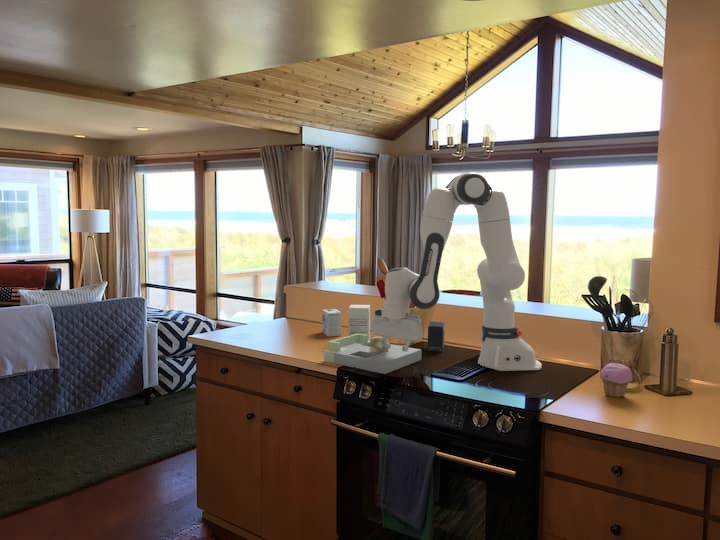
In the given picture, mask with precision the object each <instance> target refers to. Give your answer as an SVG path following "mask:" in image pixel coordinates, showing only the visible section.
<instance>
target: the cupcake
mask: <svg viewBox="0 0 720 540" xmlns="http://www.w3.org/2000/svg"><path fill="white" fill-rule="evenodd" d="M599 375H600V378H601V379H602V382H603V392H604V394H605V395H606V396H607V397H611V398H621V397H623V396H626V393H627V390H628V385H629V383H630V382H631V381H632V380H633V373H632V370H631V369H630V368H629V367H628V366H626V365H624V364H622V363H617V362H610V363H607V364H606V365H605V366H603V368H602V369H601V370H600V374H599Z"/></svg>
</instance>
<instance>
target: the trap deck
mask: <svg viewBox="0 0 720 540" xmlns="http://www.w3.org/2000/svg"><path fill="white" fill-rule="evenodd" d="M403 346H404V345H396V344H391V348H390V349H389V351H387V352H384V353H374V352H370V340H369V341H368V335H364V334H355V335H351V336H349V335H348V336H344V337H340V338H337V339H331V340H330V341H328V349H325V350H323V362H326V363H331V364H335V365H340V366H344V367H349V368H354V367H355V369H358V368H359V369H360V370H364V371H368V372H373V373H379V374H384V375H386V374H389V373H392V372H393V371H396V370H399V369H402V368H404V367H407V366H410V365H411V364H412V365H413V364H414V363H417V362H420V361H422V349H420V348H413V347H410V346H408V351H407V352H404V351H402V347H403Z"/></svg>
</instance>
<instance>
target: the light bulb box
mask: <svg viewBox="0 0 720 540" xmlns="http://www.w3.org/2000/svg"><path fill="white" fill-rule="evenodd" d="M321 313H322V324H321V325H322V326H321V327H322V329H321V330H322V333H323V334H324V335H325V336H327V337H341V336H342V314H343V313H342V312H341V311H340V310H338V309H337V308H330V309H329V308H327V309H322V312H321Z"/></svg>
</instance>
